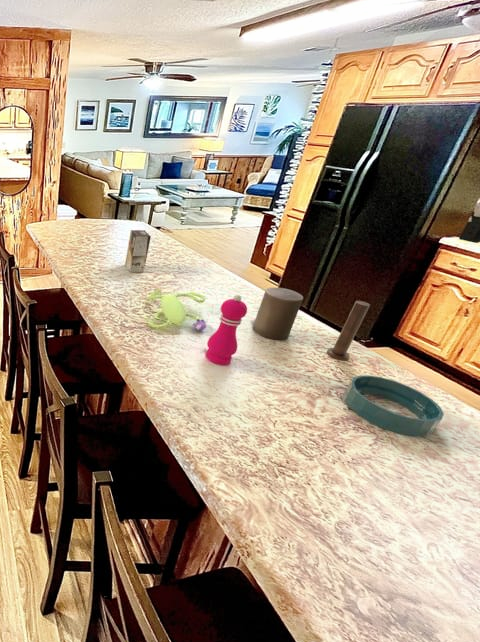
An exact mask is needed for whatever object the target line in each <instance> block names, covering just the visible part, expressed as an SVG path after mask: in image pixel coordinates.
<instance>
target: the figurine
mask: <svg viewBox="0 0 480 642" xmlns="http://www.w3.org/2000/svg"><path fill="white" fill-rule="evenodd" d="M160 293H162V289H157V290H155V291H153V292H151V293H150V294H149V295H148V297H147V299H148V300H153V299H161V300H160V303H161V304H160V307H161V309H162V310H158V311H157V312H156V313H155V314H154V318H155V319H156V320H160V321H164V322H165V323H162V324H155V323H152V321H151V315H147V317H146V323H147V325H148V326H149V327H150V328H152V329H157V330H161V329H165V328H168V327H169V326H170V325H171V324H174V325H176V326H180V325H183V324H184V323H185V322H186V319H187V317H189V318H193V319H194V320H196V322H195V323H193V324H192V326H193V327H194V328H195V330H197V331H203V330H204V329H206V328H207V324H206V321H205V320H204V319H203V318H202V319H201V318H200V317H199V316H197V315H196V314H193V313H189V312H187V311H186V310H185V309H186V308H185V307H184V304H183V303H182V302H181V300H180V299H179V297H186V298H190V299H192V300H193V301H194V302H195V303H198V304H203V303H204V302H205V301H206V299H207V297H206V296H205V295H203V294H201V293H197V292H195V291H193V290H191V291H190V292H189V293H186V292H179V293H175V294H172V293H165V294H160ZM160 315H164V316H165V318H166V319H164V318H160Z"/></svg>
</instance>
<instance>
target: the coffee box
mask: <svg viewBox="0 0 480 642" xmlns="http://www.w3.org/2000/svg"><path fill="white" fill-rule="evenodd" d="M151 238H152V237H151V235H150V234H149V233H148V232H147V231H146V230H145V229H144V230H142V229H137V230H136V229H135V230H134V229H130V232H129V238H128V245H127V251H126V255H125V256H126V257H125V263H124V265H125V267H126V268H127V270H128V271H129V272H130V273H132V272H133V273H144V272H145V270H146V269H145V268H146V263H147V258H148V253H149V249H150V242H151Z"/></svg>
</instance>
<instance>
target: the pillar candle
mask: <svg viewBox="0 0 480 642" xmlns="http://www.w3.org/2000/svg"><path fill="white" fill-rule="evenodd" d="M303 300H304V296H303V295H302V294H300V293H299V292H297V291H294V290H292V289H288V288H284V287H283V288H282V287H276V286H275V287H267V288H265V291H264V293H263V297H262V300H261V302H260V305H259V308H258V310H257V313H256V317H255V319H254V322H253V325H252V331H254V333H256V334H258V335H260V336H261V337H263V338H266V339H269V340H275V341H285V340H287V339H288V338H289V336H290V333H291V331H292V328H293V326H294V323H295V321H296V318H297V315H298V313H299V310H300V308H301V306H302V303H303Z"/></svg>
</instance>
